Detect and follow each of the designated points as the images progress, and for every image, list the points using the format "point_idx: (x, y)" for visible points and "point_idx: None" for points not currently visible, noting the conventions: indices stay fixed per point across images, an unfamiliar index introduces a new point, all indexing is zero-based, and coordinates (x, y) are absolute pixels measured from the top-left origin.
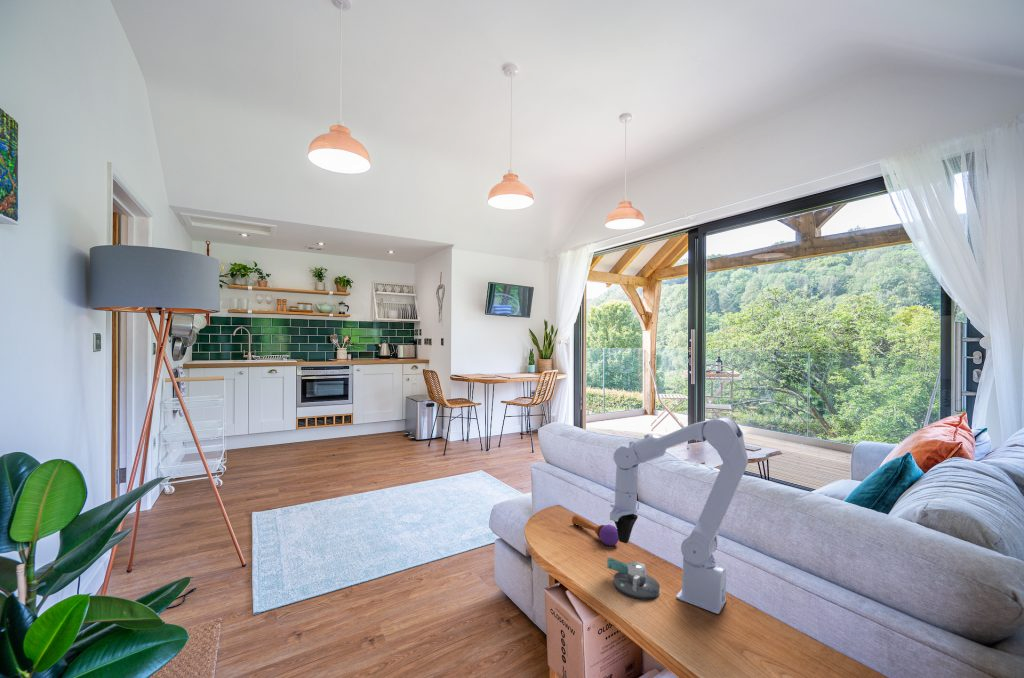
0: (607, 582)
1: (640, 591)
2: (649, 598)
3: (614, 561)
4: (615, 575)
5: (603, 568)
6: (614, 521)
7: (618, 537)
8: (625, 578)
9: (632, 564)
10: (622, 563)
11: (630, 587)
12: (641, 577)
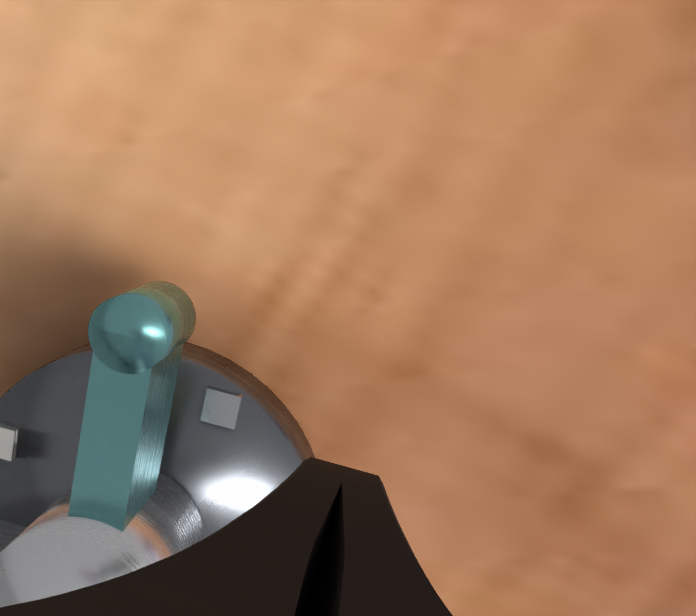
0: (105, 290)
1: None
2: None
3: (98, 379)
4: None
5: (334, 205)
6: (72, 596)
7: (299, 469)
8: None
9: (59, 577)
10: (108, 460)
11: (15, 494)
12: None
